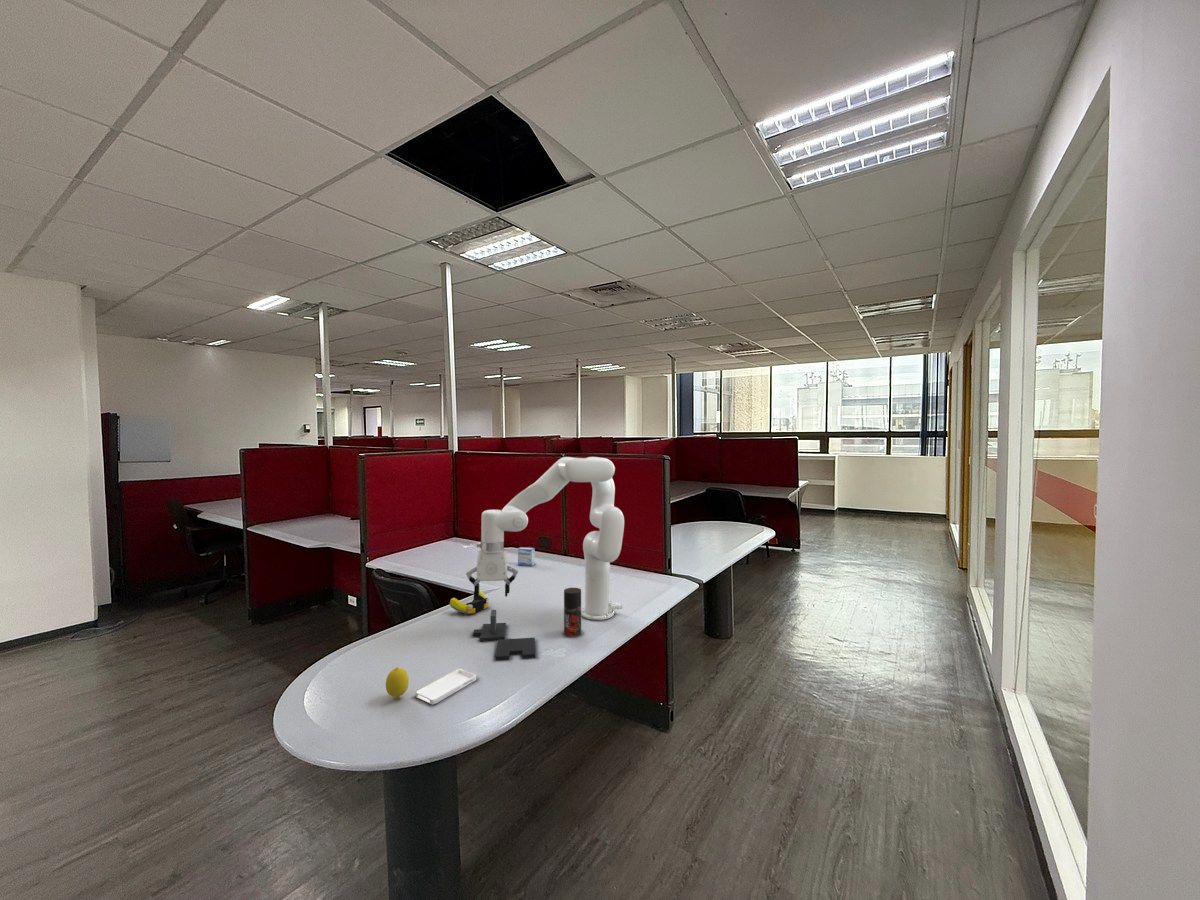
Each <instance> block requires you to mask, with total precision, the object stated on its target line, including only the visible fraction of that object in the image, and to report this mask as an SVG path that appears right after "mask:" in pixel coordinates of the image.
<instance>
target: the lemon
mask: <svg viewBox="0 0 1200 900" xmlns="http://www.w3.org/2000/svg"><path fill="white" fill-rule="evenodd" d="M409 684H410V680H409V675H408V672H407V671H406V670H405V669H404V668H402V667H397V666H396V667H395V668H394V669H392V670H391V671H389V673H388V674H387V676H386V679H385V690H386V693H387V694H388V695H389V696H390V697H392V698H395V699H399V698H400V697H401V696H403V695H404V694H405V693H406V692H407V690H408V688H409Z"/></svg>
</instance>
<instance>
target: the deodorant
mask: <svg viewBox="0 0 1200 900" xmlns="http://www.w3.org/2000/svg"><path fill="white" fill-rule="evenodd" d="M581 610H582V589H581V588H578V587H567V588H564V589H563V635H564V636H565V637H568V638H576V637H580V636H581V635H582V615H581Z"/></svg>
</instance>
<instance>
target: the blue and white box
mask: <svg viewBox="0 0 1200 900" xmlns="http://www.w3.org/2000/svg"><path fill="white" fill-rule="evenodd" d="M535 551H536V550H535V547H523V546H520V547H518V548H517V566H526V567H527V566H528V567H533V566H534V564H535V557H536V556H535Z"/></svg>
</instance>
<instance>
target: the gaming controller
mask: <svg viewBox="0 0 1200 900" xmlns="http://www.w3.org/2000/svg"><path fill="white" fill-rule="evenodd" d="M472 599H473V600H471V601H470V602H466V603H464V602H462V601H460V600H459V599H457V598H456V597H452V598H451V599H450V601H449V606H450V607H451V609H452V610H455V611H457V612H459V613H462V614H463V615H464V616H469V615H472V614H476V613H478V612H480V611H483V610H485V609H487V608H488V606H489V605H490V604H489V603H490V602H489V601H490V598H489V597H486V596H485V594H484V593H483V592H482V591H481V590H480V589H479V597H478V598H476V594H474V593H473V598H472Z"/></svg>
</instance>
